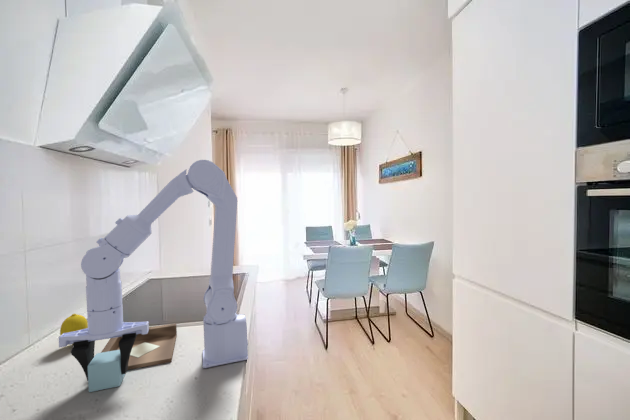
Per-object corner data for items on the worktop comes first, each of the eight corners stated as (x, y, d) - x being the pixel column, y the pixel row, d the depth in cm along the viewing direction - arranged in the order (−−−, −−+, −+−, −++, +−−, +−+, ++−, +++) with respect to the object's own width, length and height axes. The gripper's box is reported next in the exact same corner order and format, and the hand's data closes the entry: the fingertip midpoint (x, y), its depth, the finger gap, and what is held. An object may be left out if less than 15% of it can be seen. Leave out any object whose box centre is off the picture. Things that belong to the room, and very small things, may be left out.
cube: (126, 372, 62) (125, 348, 62) (119, 386, 58) (118, 360, 57) (97, 377, 61) (96, 353, 60) (88, 392, 56) (87, 366, 56)
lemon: (59, 345, 75) (57, 314, 74) (86, 338, 79) (85, 308, 78) (62, 353, 71) (61, 320, 71) (91, 344, 75) (90, 313, 75)
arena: (176, 335, 79) (176, 323, 79) (171, 361, 66) (170, 347, 66) (115, 345, 74) (114, 332, 74) (96, 375, 61) (95, 360, 61)
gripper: (150, 295, 65) (152, 357, 65) (68, 305, 60) (71, 371, 60) (144, 306, 58) (147, 374, 59) (51, 318, 53) (55, 392, 54)
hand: (108, 374), depth 59 cm, fingers closed on cube, 5 cm apart
